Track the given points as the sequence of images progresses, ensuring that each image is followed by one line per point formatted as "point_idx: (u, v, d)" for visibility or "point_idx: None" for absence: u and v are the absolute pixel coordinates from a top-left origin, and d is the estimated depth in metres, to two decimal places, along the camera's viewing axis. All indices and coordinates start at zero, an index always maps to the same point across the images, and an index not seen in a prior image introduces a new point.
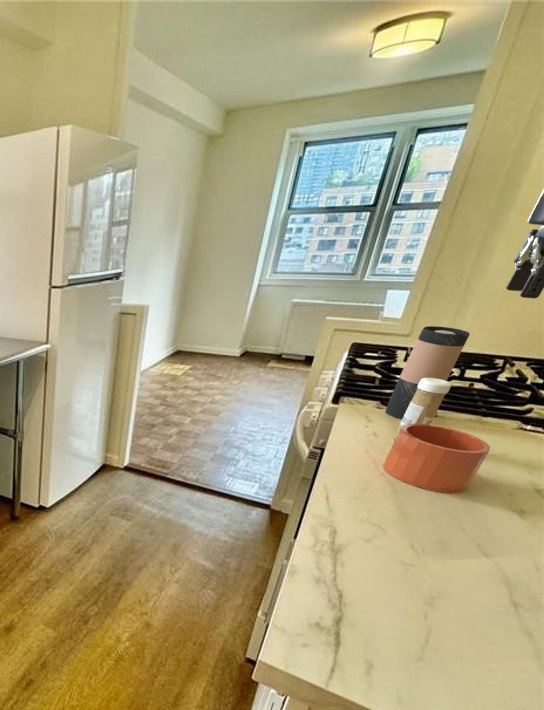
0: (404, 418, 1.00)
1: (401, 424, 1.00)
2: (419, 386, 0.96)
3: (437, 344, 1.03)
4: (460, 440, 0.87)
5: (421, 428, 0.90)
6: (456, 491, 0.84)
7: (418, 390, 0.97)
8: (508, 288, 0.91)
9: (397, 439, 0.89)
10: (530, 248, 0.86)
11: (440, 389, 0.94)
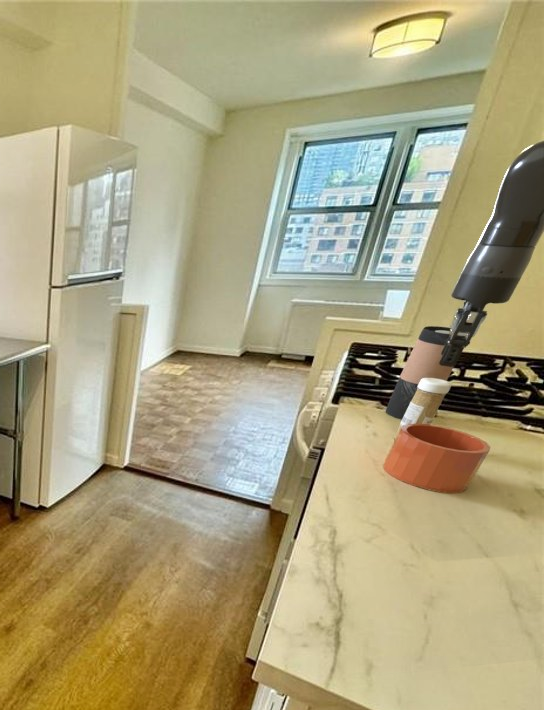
0: (404, 418, 1.00)
1: (401, 424, 1.00)
2: (419, 386, 0.96)
3: (437, 344, 1.03)
4: (460, 440, 0.87)
5: (421, 428, 0.90)
6: (456, 491, 0.84)
7: (418, 390, 0.97)
8: (442, 353, 0.96)
9: (397, 439, 0.89)
10: None
11: (440, 389, 0.94)
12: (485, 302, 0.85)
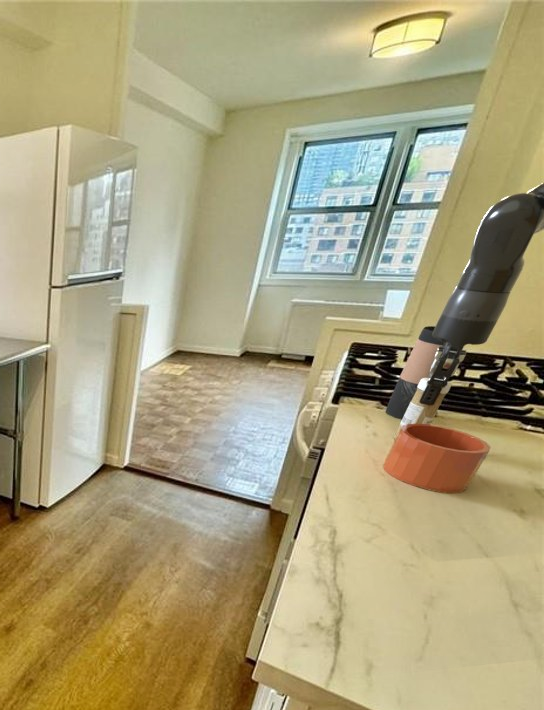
0: (404, 418, 1.00)
1: (401, 424, 1.00)
2: (419, 386, 0.96)
3: (437, 344, 1.03)
4: (460, 440, 0.87)
5: (421, 428, 0.90)
6: (456, 491, 0.84)
7: (418, 390, 0.97)
8: None
9: (397, 439, 0.89)
10: None
11: None
12: (463, 343, 0.88)
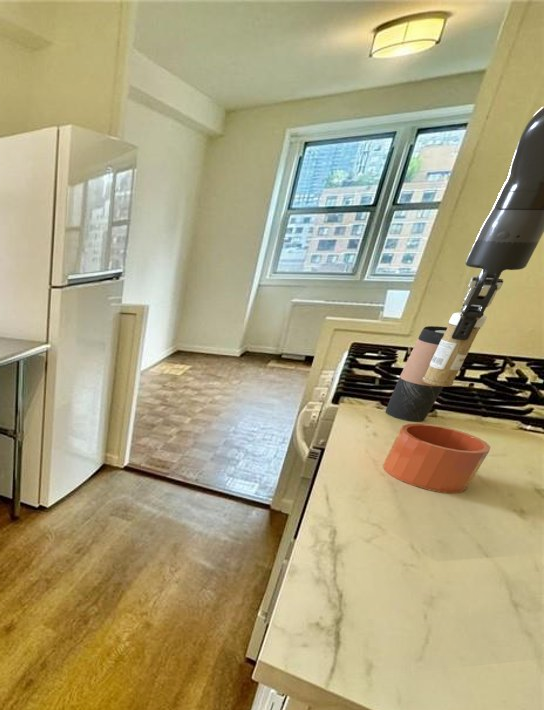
0: (434, 357, 0.94)
1: (431, 364, 0.94)
2: (451, 321, 0.90)
3: (437, 344, 1.03)
4: (460, 440, 0.87)
5: (421, 428, 0.90)
6: (456, 491, 0.84)
7: (450, 326, 0.91)
8: None
9: (397, 439, 0.89)
10: None
11: None
12: (501, 268, 0.82)
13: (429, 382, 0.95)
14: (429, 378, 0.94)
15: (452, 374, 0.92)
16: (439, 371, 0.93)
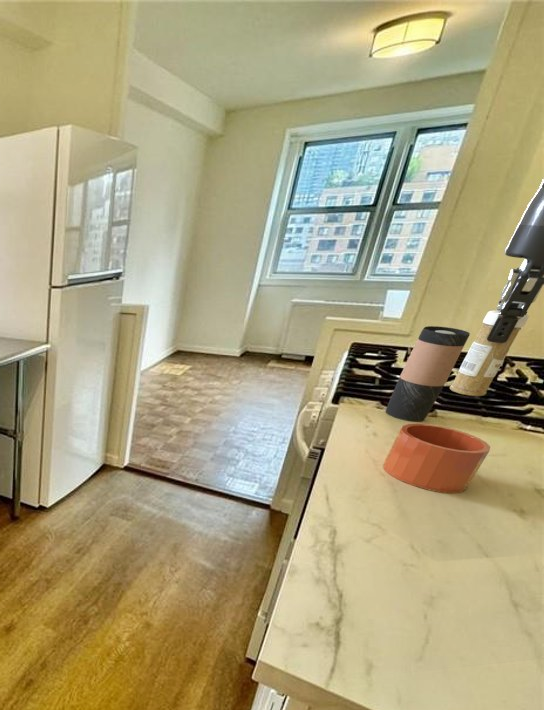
0: (465, 363, 0.81)
1: (460, 370, 0.81)
2: (486, 320, 0.77)
3: (437, 344, 1.03)
4: (460, 440, 0.87)
5: (421, 428, 0.90)
6: (456, 491, 0.84)
7: (484, 326, 0.78)
8: None
9: (397, 439, 0.89)
10: None
11: None
12: None
13: (458, 391, 0.82)
14: (459, 386, 0.82)
15: (486, 382, 0.79)
16: (470, 378, 0.80)
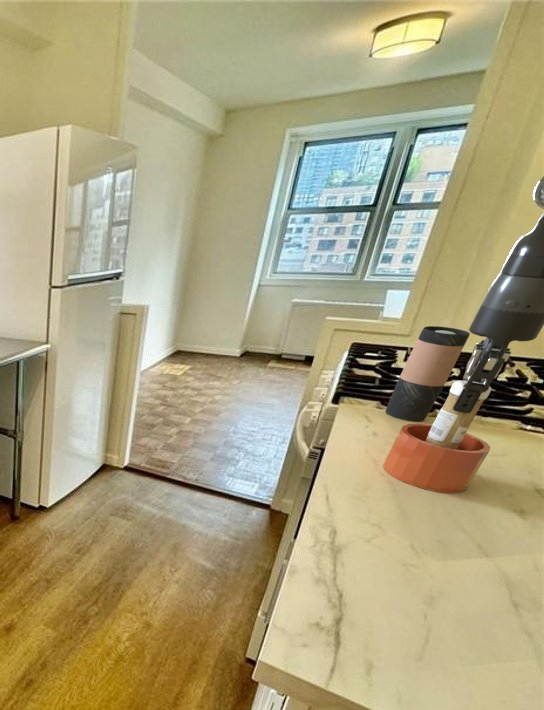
0: (433, 428, 0.85)
1: (430, 434, 0.86)
2: (452, 390, 0.82)
3: (437, 344, 1.03)
4: None
5: (421, 428, 0.90)
6: (456, 491, 0.84)
7: (451, 395, 0.82)
8: None
9: (397, 439, 0.89)
10: None
11: None
12: (509, 340, 0.74)
13: None
14: None
15: (453, 447, 0.84)
16: (438, 443, 0.85)
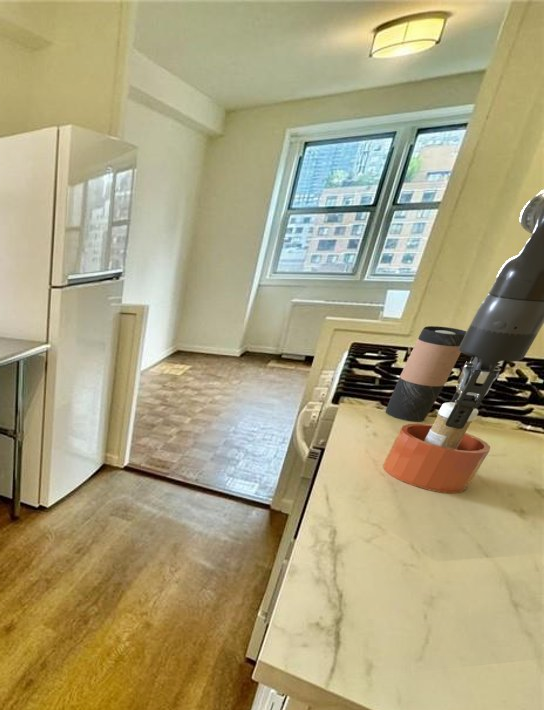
0: None
1: None
2: (440, 412, 0.84)
3: (437, 344, 1.03)
4: None
5: (421, 428, 0.90)
6: (456, 491, 0.84)
7: (439, 417, 0.84)
8: None
9: (397, 439, 0.89)
10: None
11: None
12: (497, 360, 0.75)
13: None
14: None
15: None
16: None
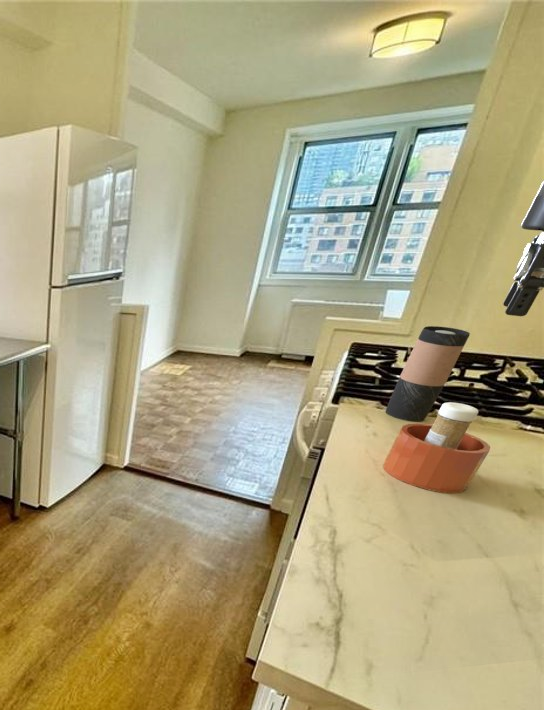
0: None
1: None
2: (440, 412, 0.84)
3: (437, 344, 1.03)
4: None
5: (421, 428, 0.90)
6: (456, 491, 0.84)
7: (439, 417, 0.84)
8: (504, 304, 0.78)
9: (397, 439, 0.89)
10: None
11: (465, 416, 0.81)
12: None
13: None
14: None
15: None
16: None
